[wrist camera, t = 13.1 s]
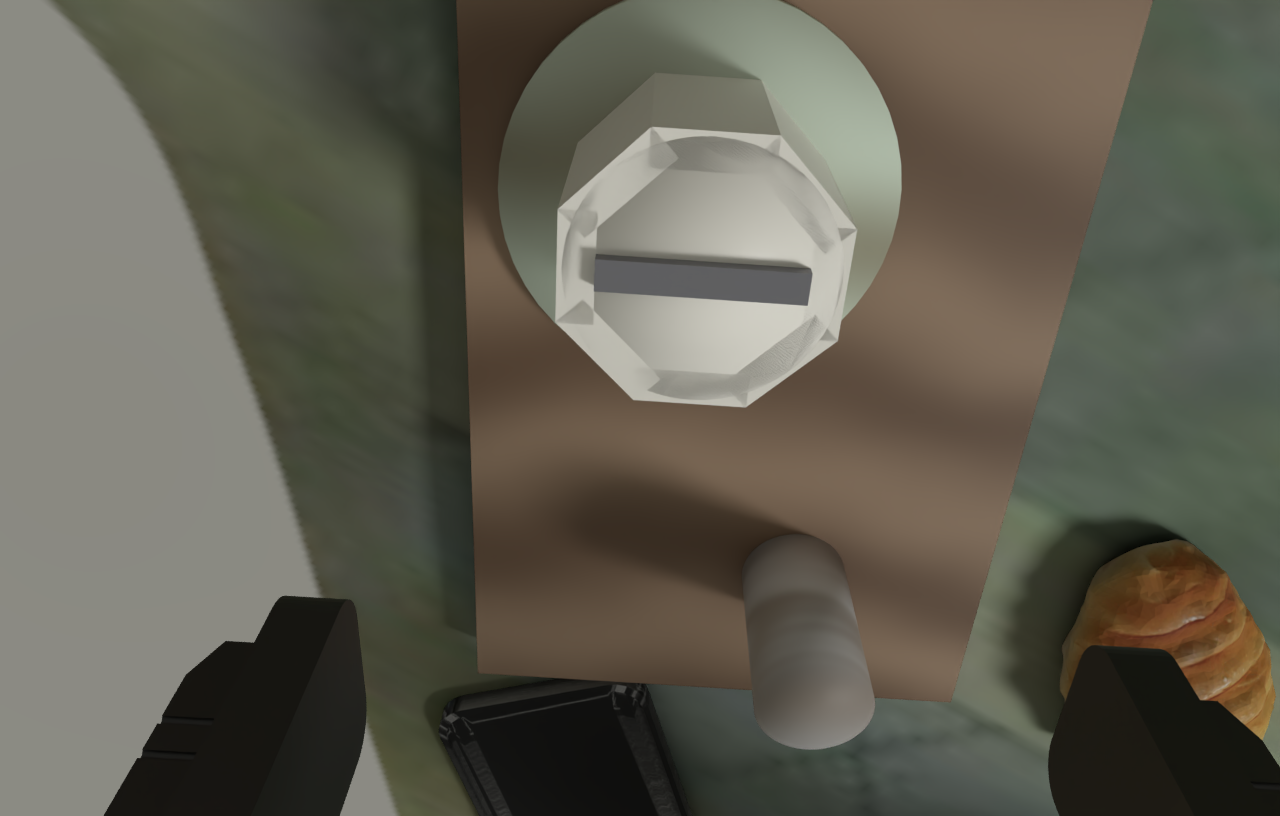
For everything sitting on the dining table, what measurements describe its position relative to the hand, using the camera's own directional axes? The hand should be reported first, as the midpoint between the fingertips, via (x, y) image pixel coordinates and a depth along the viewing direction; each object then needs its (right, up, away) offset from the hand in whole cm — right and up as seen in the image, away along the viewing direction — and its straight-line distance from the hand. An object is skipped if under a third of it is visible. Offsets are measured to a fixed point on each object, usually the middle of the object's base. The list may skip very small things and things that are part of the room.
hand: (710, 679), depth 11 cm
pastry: (+17, -5, +24) cm, 30 cm away
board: (+2, +4, +18) cm, 19 cm away
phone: (-3, -13, +29) cm, 32 cm away
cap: (+1, +8, +14) cm, 16 cm away
